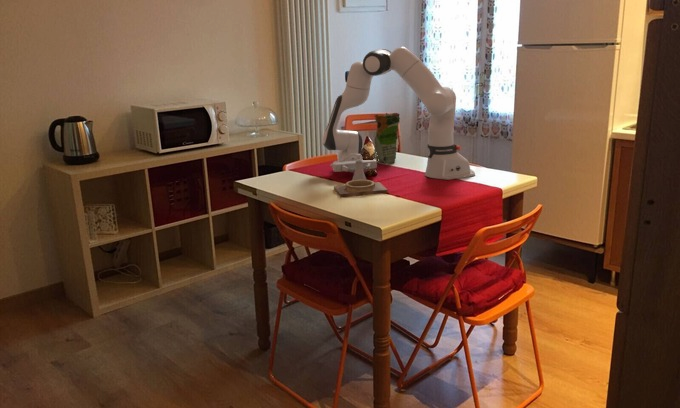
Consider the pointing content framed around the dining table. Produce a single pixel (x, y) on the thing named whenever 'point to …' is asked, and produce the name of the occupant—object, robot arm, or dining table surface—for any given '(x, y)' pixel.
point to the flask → (359, 171)
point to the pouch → (386, 137)
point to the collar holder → (360, 188)
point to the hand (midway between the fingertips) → (358, 168)
